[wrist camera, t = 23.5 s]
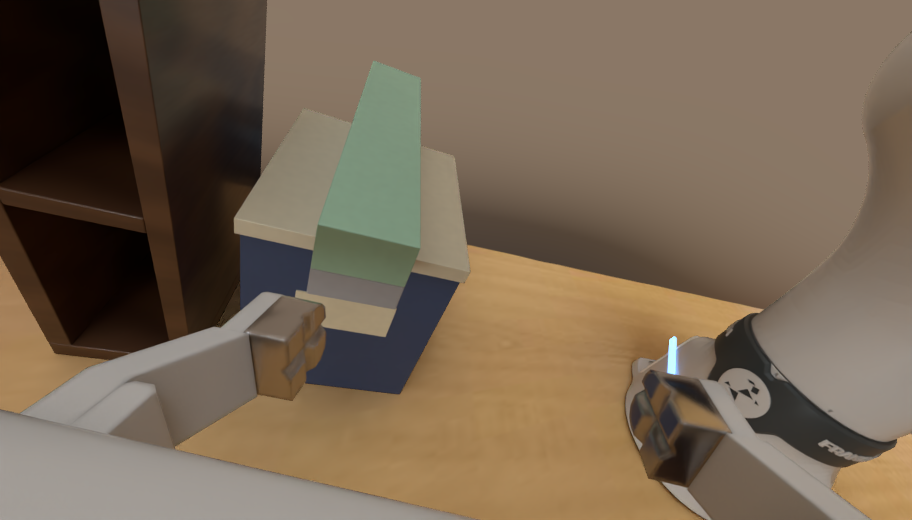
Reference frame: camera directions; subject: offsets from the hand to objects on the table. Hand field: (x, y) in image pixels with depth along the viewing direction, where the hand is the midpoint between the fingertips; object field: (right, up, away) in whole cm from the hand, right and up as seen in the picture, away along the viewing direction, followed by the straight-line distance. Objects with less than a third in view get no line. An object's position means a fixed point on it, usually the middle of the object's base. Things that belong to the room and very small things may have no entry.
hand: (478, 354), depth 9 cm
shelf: (-23, 0, +21) cm, 31 cm away
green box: (-6, +8, +15) cm, 18 cm away
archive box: (-11, -3, +25) cm, 27 cm away
